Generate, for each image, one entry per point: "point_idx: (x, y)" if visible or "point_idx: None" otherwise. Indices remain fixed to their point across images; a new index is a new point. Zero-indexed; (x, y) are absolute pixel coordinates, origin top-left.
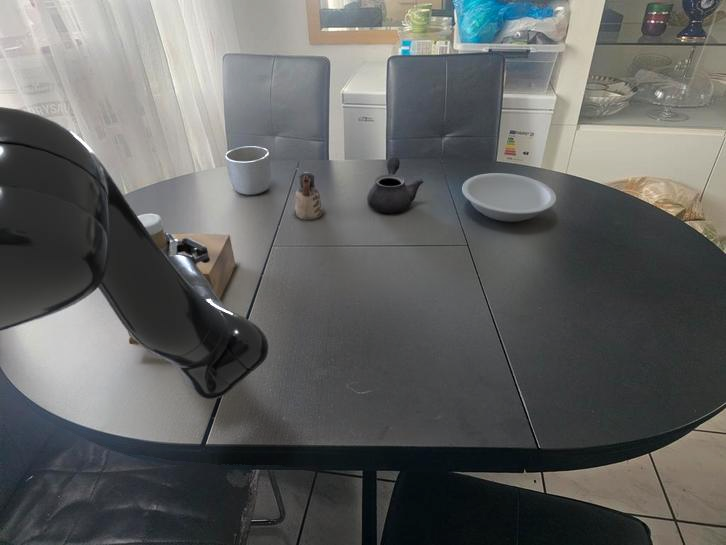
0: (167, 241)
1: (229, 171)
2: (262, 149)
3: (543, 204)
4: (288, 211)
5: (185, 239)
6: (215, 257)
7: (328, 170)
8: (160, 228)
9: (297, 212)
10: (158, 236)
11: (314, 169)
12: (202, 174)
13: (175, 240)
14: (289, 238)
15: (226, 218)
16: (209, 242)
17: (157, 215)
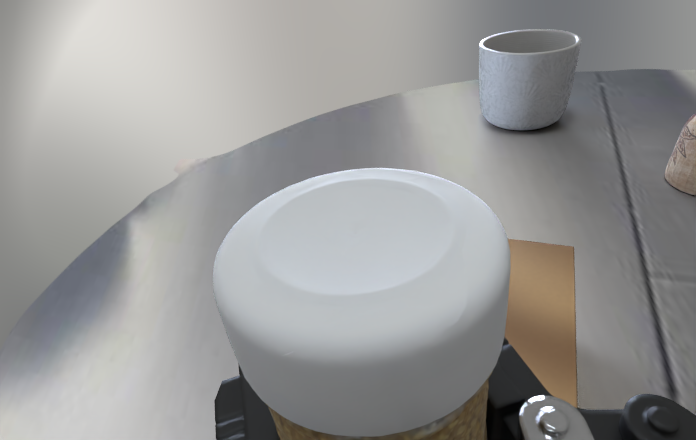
0: (490, 403)
1: (486, 78)
2: (557, 33)
3: None
4: (636, 172)
5: (671, 428)
6: (567, 355)
7: (679, 86)
8: (502, 343)
9: (682, 176)
10: (464, 418)
11: (642, 84)
12: (413, 93)
13: (566, 414)
14: (691, 253)
15: (482, 180)
16: (513, 271)
17: (465, 192)
